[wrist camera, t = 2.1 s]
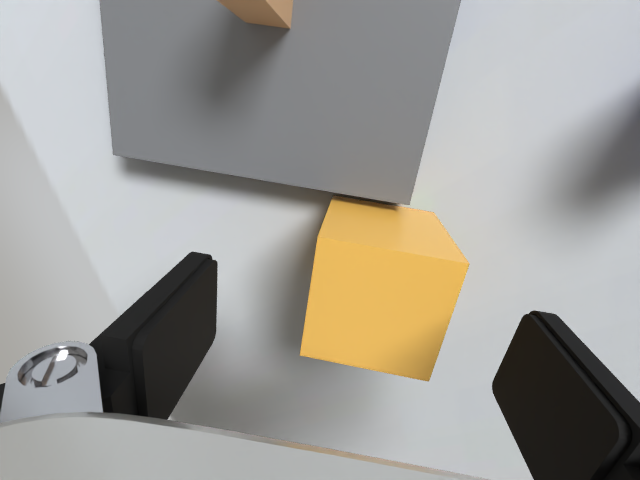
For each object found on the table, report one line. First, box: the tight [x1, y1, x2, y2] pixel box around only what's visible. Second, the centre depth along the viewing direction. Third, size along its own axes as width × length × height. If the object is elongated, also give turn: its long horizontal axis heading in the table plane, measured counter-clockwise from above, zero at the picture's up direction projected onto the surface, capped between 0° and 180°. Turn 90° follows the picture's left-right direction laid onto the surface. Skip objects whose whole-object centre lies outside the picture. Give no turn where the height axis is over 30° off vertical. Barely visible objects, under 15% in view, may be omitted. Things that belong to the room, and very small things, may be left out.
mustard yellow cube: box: [300, 195, 469, 381], centre depth 15 cm, size 5×5×6 cm
